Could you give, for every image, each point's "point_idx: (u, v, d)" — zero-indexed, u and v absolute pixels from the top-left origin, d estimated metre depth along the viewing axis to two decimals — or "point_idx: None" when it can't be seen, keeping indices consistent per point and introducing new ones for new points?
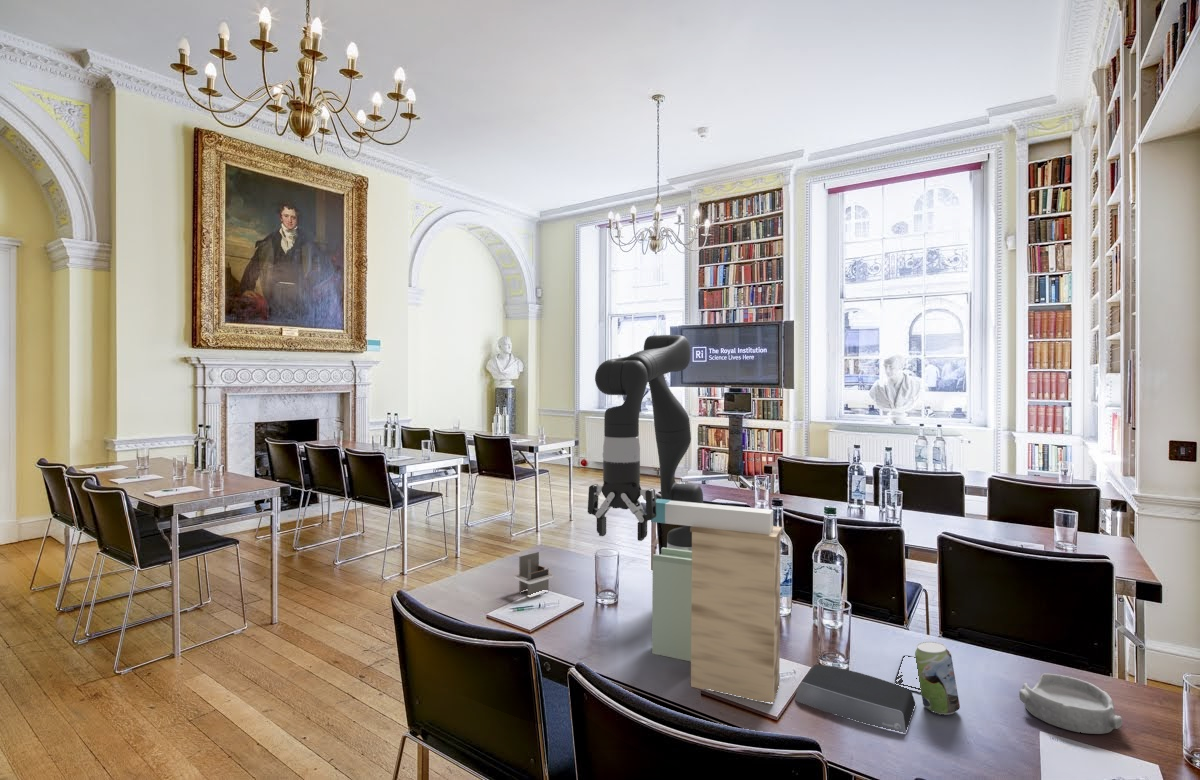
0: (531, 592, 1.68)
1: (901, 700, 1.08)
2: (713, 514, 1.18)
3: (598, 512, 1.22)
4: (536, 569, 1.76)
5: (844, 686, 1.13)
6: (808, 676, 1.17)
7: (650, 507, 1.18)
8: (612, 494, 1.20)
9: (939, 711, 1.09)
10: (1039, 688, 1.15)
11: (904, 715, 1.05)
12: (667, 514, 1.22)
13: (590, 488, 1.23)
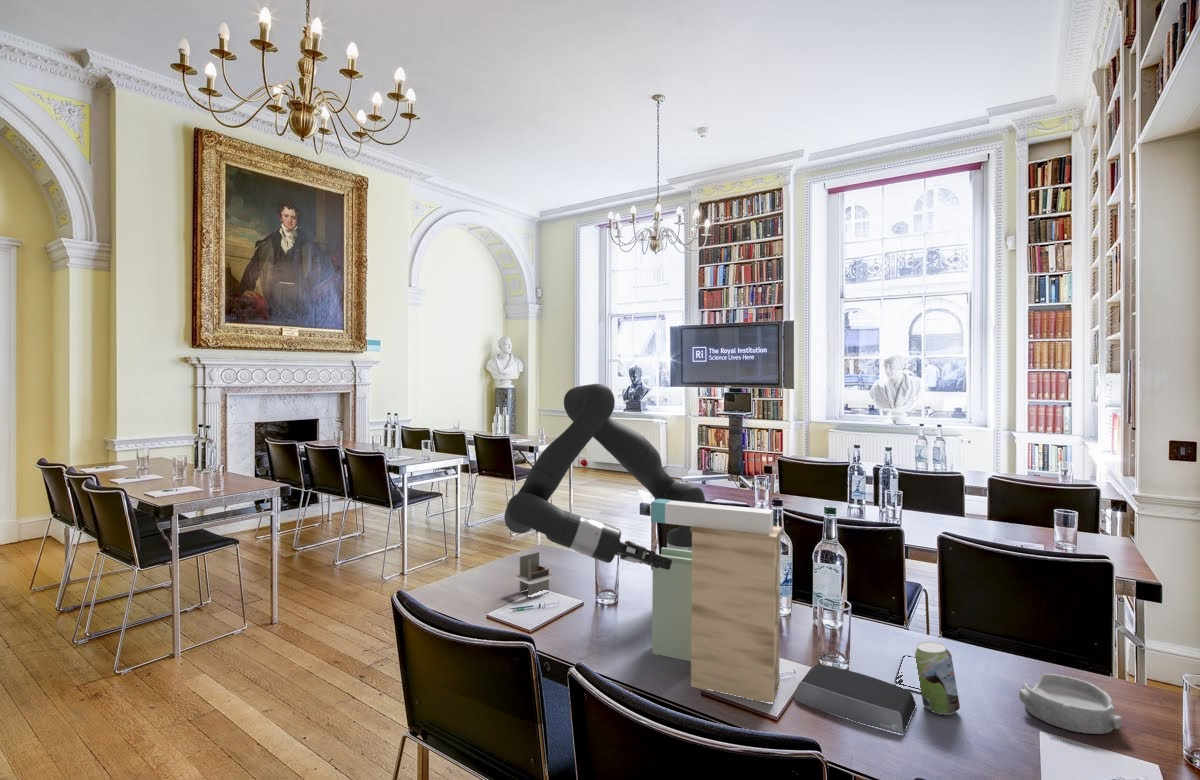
0: (531, 592, 1.68)
1: (901, 701, 1.08)
2: (713, 514, 1.18)
3: None
4: (536, 569, 1.76)
5: (843, 686, 1.13)
6: (808, 676, 1.17)
7: (640, 560, 1.21)
8: None
9: (939, 711, 1.09)
10: (1039, 688, 1.15)
11: (902, 716, 1.05)
12: (667, 514, 1.22)
13: (615, 554, 1.33)
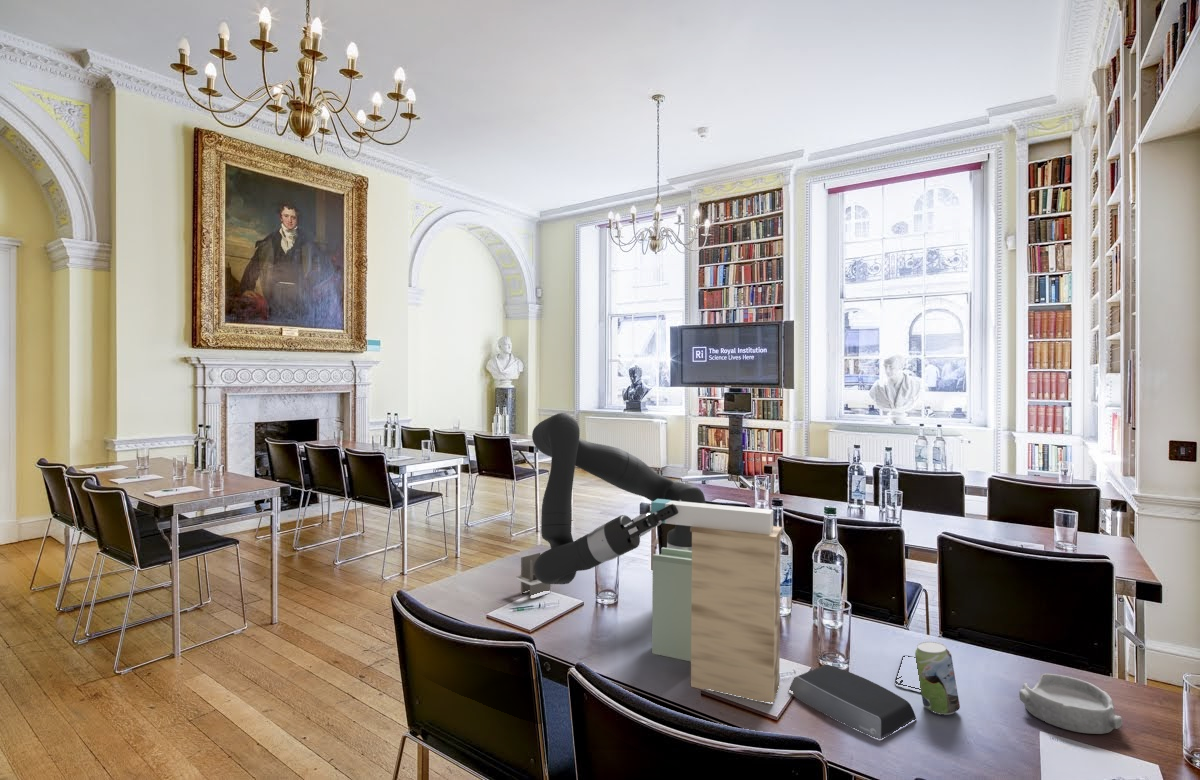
0: (533, 593, 1.67)
1: (889, 709, 1.06)
2: (713, 514, 1.18)
3: None
4: None
5: (836, 686, 1.13)
6: (808, 672, 1.19)
7: (646, 530, 1.20)
8: None
9: (939, 711, 1.09)
10: (1039, 688, 1.15)
11: (883, 722, 1.03)
12: None
13: None
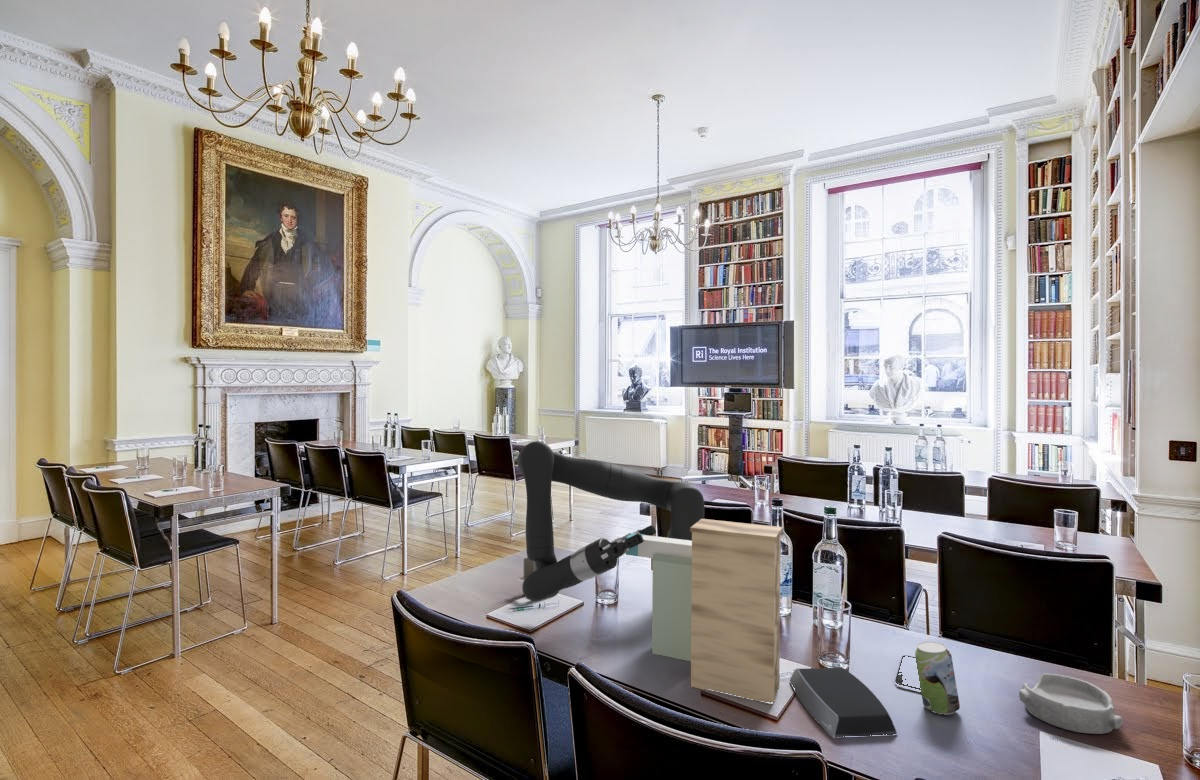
0: None
1: (858, 713, 1.04)
2: (680, 549, 1.32)
3: None
4: None
5: (826, 684, 1.14)
6: (812, 668, 1.20)
7: (615, 557, 1.34)
8: None
9: (939, 711, 1.09)
10: (1039, 688, 1.15)
11: (841, 722, 1.03)
12: (640, 548, 1.36)
13: None
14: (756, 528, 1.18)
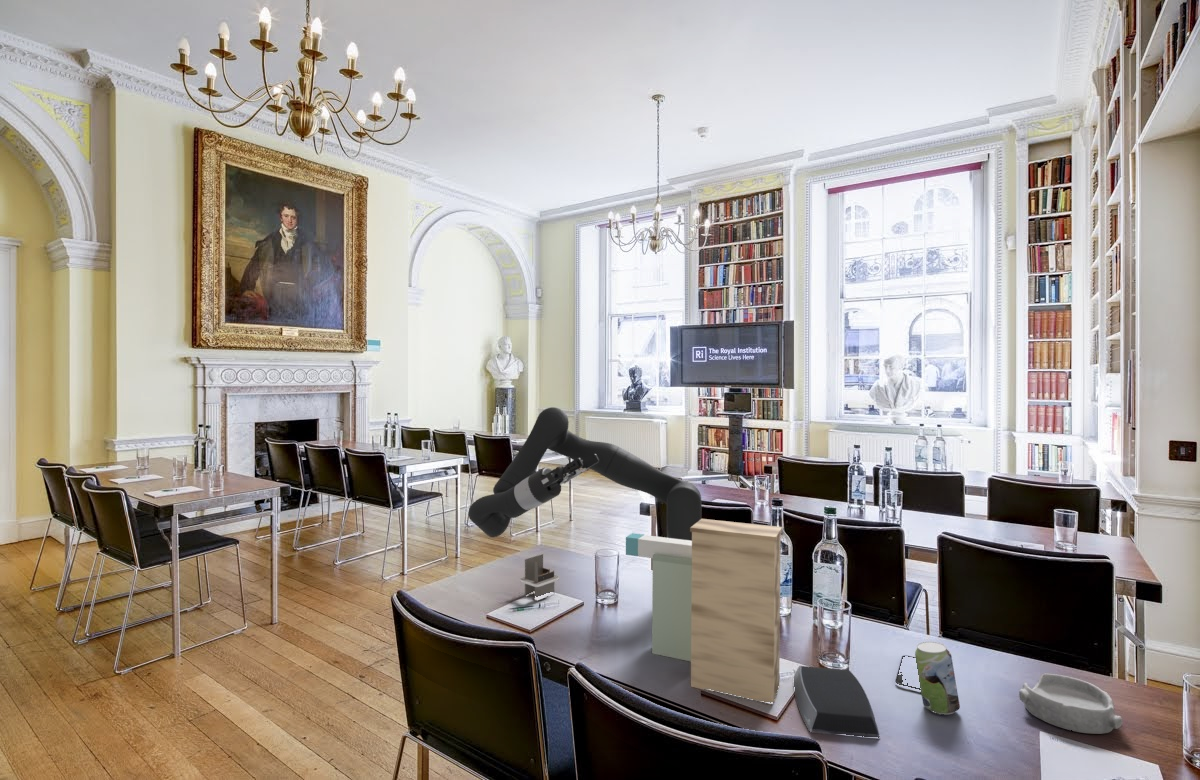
0: (538, 595, 1.66)
1: (840, 712, 1.04)
2: (680, 549, 1.32)
3: (584, 470, 1.45)
4: (540, 571, 1.73)
5: (821, 682, 1.14)
6: (816, 667, 1.21)
7: (554, 481, 1.35)
8: None
9: (939, 711, 1.09)
10: (1039, 688, 1.15)
11: (819, 717, 1.04)
12: (640, 548, 1.36)
13: None
14: (756, 528, 1.18)
